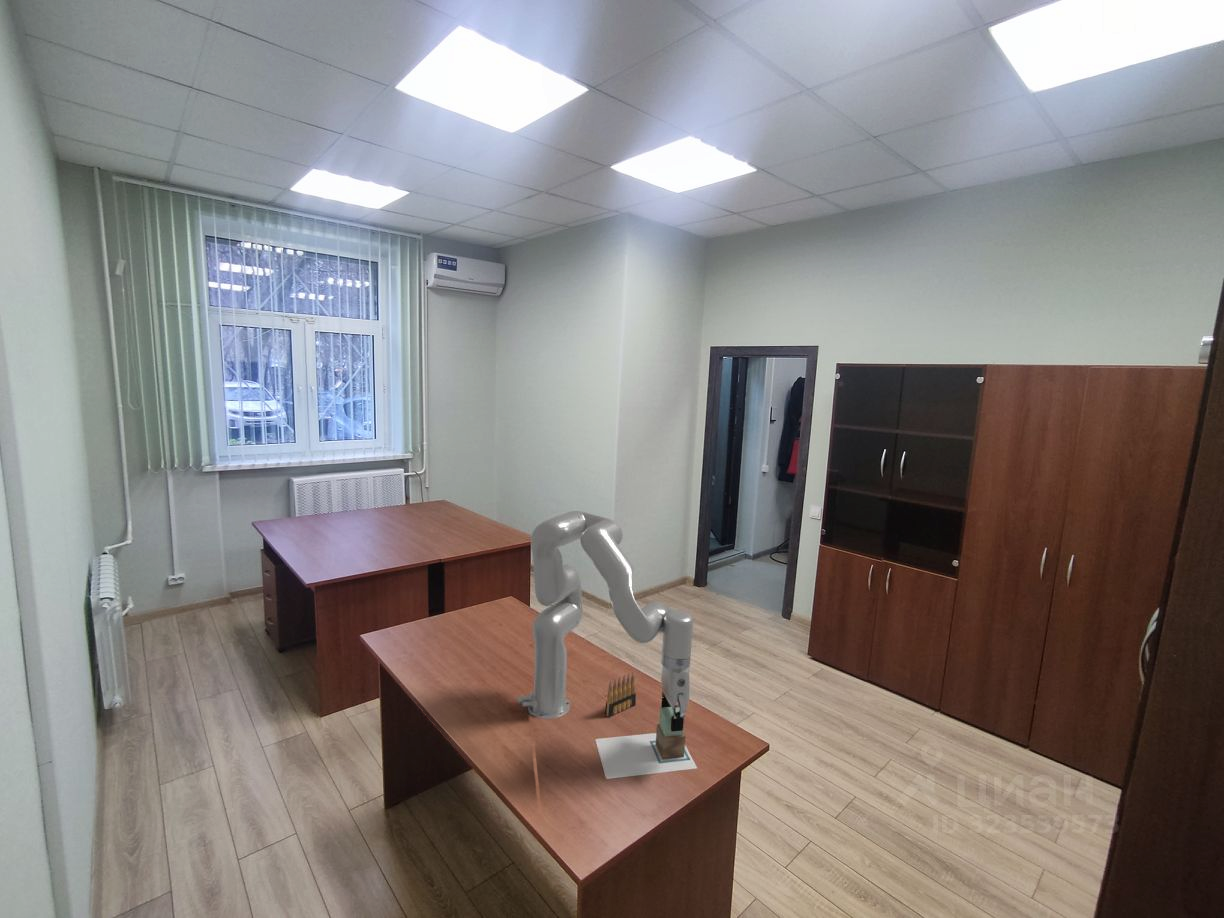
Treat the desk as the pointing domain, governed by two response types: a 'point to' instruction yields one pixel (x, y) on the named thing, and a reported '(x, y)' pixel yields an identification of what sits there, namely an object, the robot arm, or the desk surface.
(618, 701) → the ammunition clip
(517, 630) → the desk surface
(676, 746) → the walnut block
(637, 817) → the desk surface
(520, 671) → the desk surface
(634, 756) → the building board
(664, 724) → the sage cube
